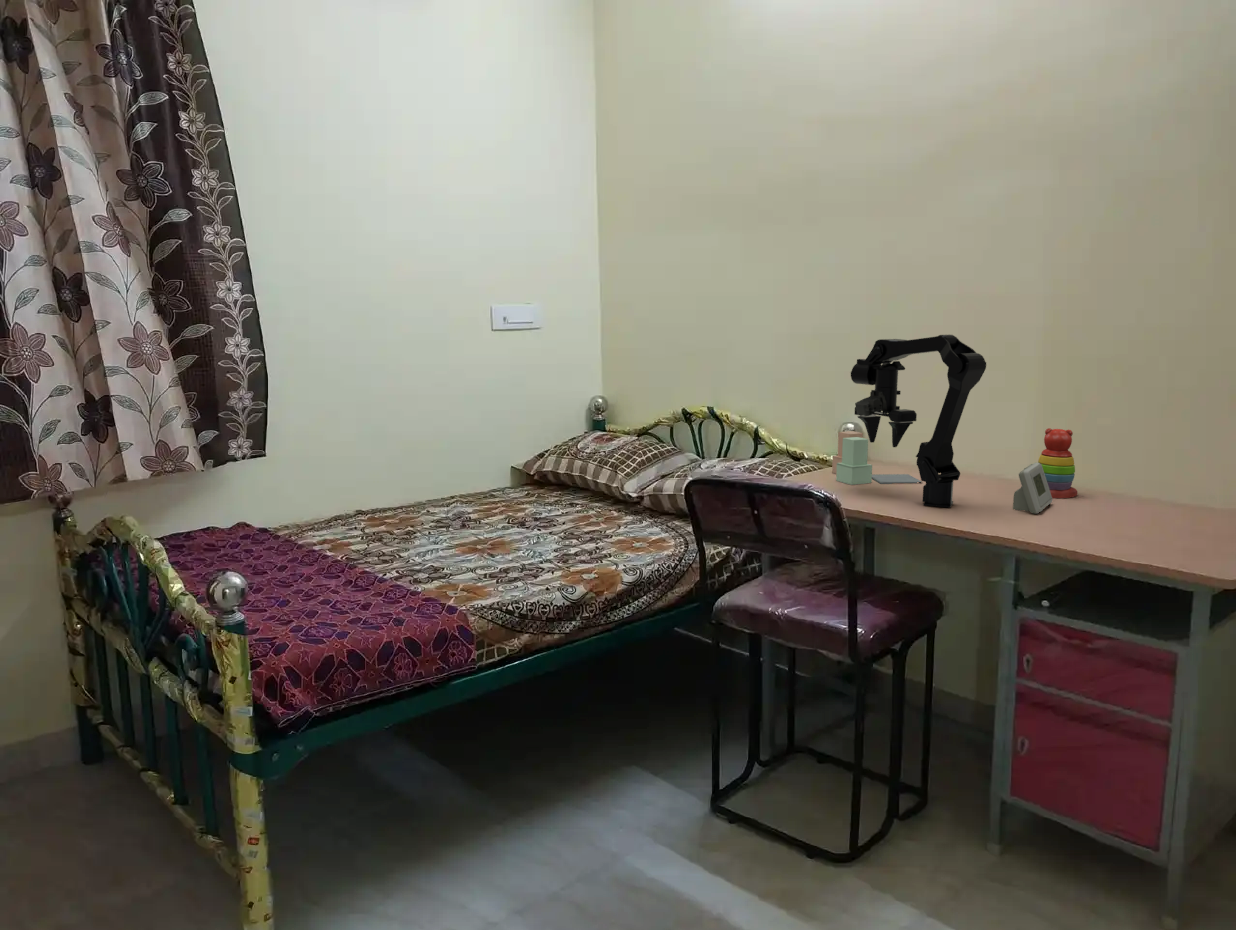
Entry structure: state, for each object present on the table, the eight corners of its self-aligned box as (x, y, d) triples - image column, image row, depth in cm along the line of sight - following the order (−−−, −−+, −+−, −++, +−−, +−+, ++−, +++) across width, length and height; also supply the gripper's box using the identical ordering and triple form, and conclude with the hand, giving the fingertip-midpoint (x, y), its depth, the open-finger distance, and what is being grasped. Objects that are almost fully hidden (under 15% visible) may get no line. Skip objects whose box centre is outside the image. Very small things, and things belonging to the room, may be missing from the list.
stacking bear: (1078, 493, 250) (1083, 427, 247) (1073, 500, 241) (1079, 432, 238) (1034, 489, 255) (1039, 425, 252) (1028, 496, 247) (1033, 429, 244)
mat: (922, 483, 264) (922, 481, 264) (880, 483, 264) (880, 482, 264) (907, 475, 276) (907, 474, 276) (867, 476, 276) (867, 474, 276)
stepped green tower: (871, 482, 266) (873, 439, 263) (851, 484, 263) (853, 441, 261) (855, 478, 272) (857, 436, 270) (836, 480, 269) (837, 437, 267)
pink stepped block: (865, 474, 278) (867, 433, 276) (846, 476, 275) (848, 434, 273) (851, 471, 284) (852, 430, 282) (832, 472, 281) (833, 431, 279)
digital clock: (1037, 516, 224) (1040, 472, 222) (1000, 510, 230) (1003, 468, 229) (1064, 506, 235) (1067, 464, 233) (1028, 501, 241) (1031, 460, 239)
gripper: (839, 384, 253) (837, 441, 255) (884, 390, 236) (881, 451, 239) (872, 383, 257) (870, 439, 260) (919, 389, 240) (916, 449, 243)
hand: (883, 444), depth 250 cm, fingers open, 9 cm apart
